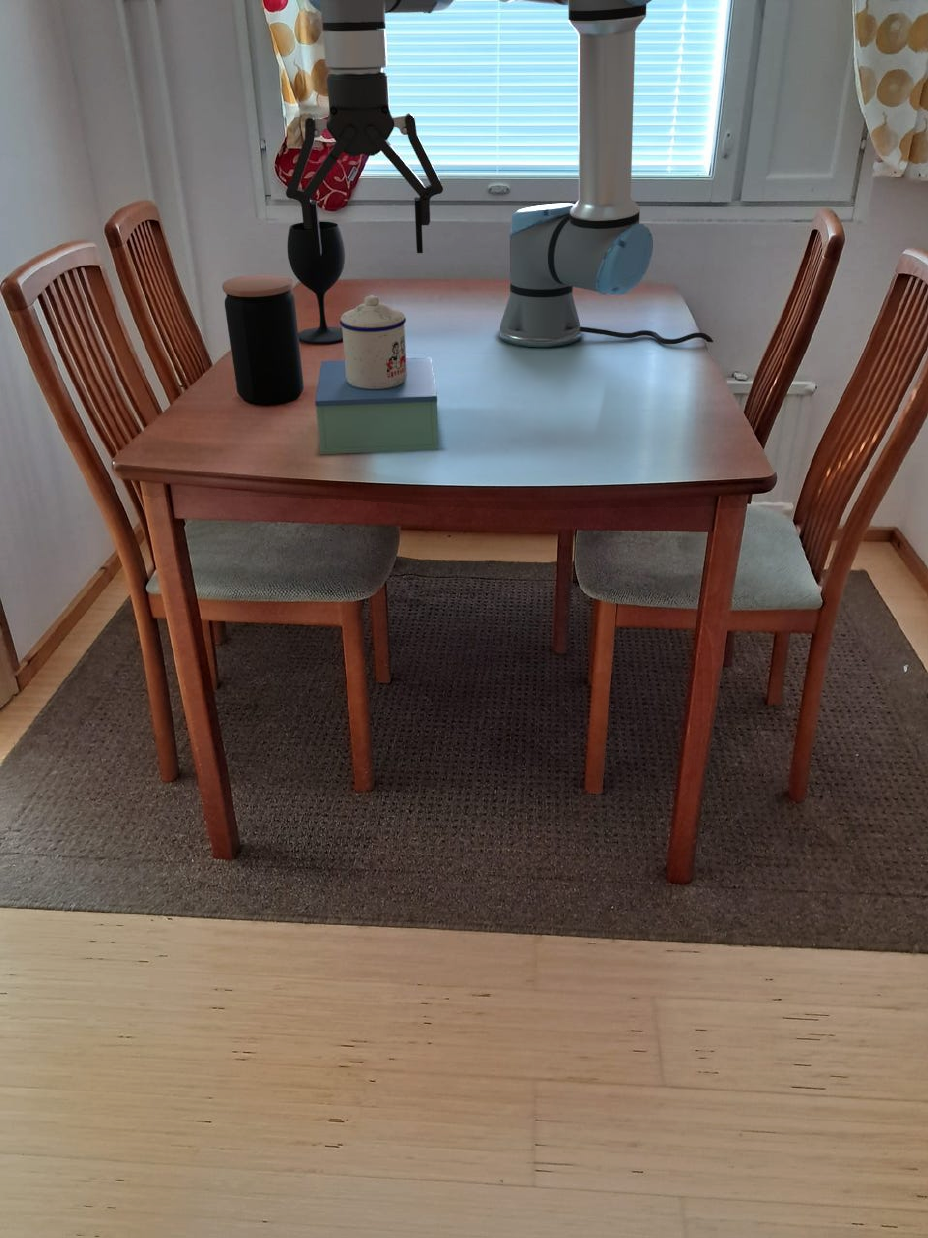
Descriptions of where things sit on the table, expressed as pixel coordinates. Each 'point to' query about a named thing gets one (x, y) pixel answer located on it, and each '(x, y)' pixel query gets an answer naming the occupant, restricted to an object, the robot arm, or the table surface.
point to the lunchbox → (378, 427)
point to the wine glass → (317, 272)
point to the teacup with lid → (374, 345)
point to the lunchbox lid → (412, 390)
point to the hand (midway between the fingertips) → (369, 253)
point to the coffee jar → (264, 339)
